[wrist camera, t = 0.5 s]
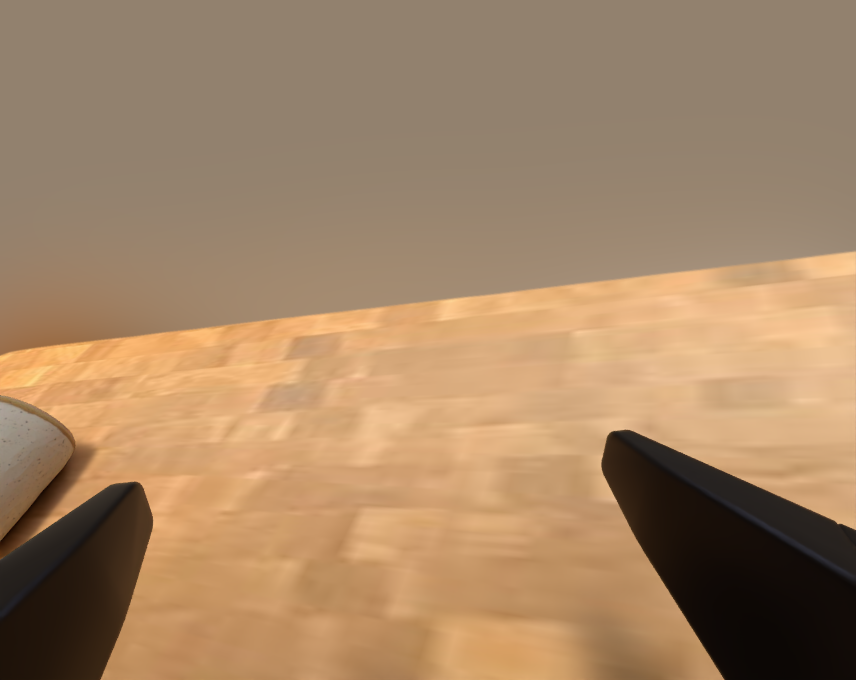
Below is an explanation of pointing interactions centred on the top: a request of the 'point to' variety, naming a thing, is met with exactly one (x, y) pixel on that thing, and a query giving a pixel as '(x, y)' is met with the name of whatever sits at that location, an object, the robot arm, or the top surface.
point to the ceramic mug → (28, 456)
